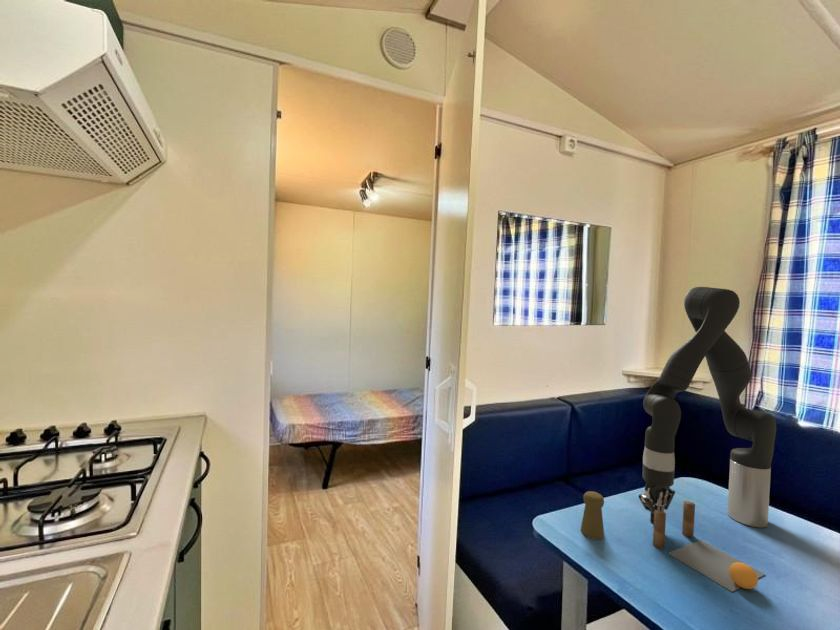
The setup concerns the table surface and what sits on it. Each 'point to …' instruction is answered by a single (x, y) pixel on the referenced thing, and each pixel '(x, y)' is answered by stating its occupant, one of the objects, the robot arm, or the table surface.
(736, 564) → the ball
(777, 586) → the table surface
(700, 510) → the table surface
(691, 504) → the post
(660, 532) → the post
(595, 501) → the brown pawn
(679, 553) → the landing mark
